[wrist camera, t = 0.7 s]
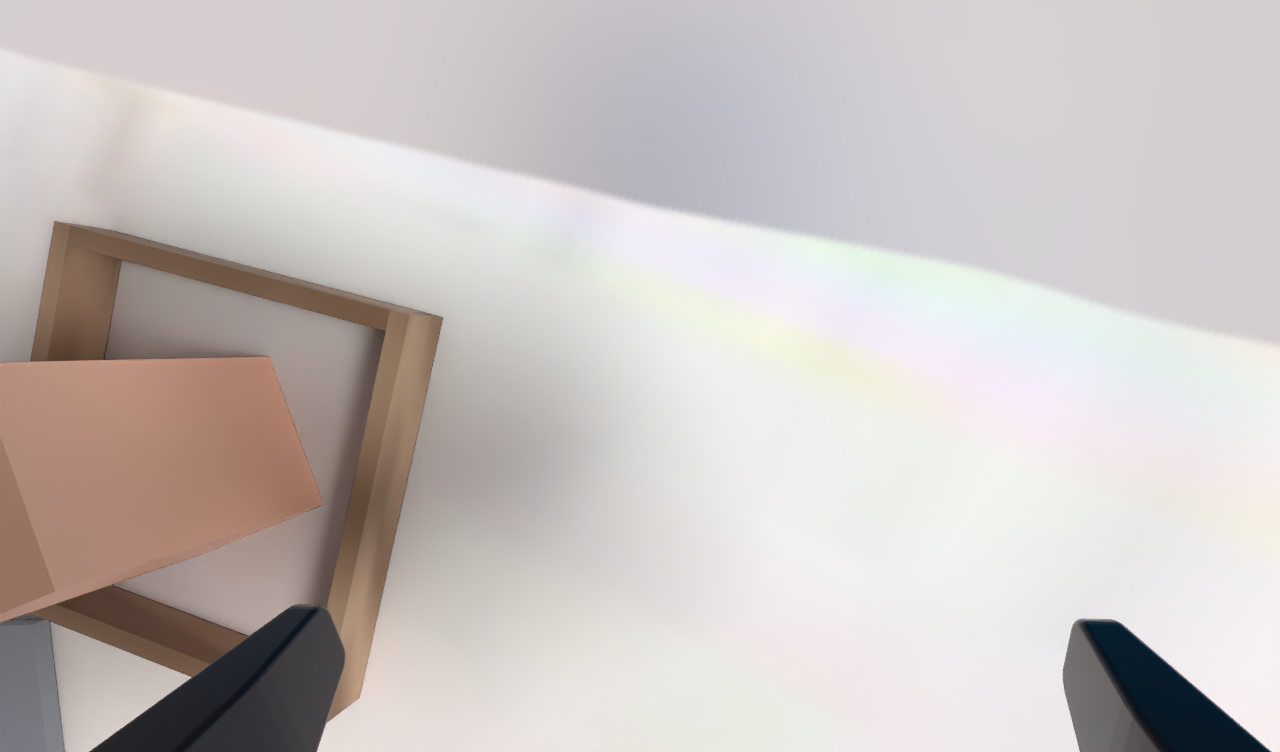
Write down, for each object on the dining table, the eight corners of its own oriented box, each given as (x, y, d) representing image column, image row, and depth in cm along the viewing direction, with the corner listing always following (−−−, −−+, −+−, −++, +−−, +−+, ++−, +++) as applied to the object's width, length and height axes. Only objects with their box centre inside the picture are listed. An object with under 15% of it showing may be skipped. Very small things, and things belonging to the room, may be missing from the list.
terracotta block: (323, 504, 25) (55, 591, 16) (198, 555, 26) (-117, 662, 17) (268, 356, 25) (-25, 362, 16) (147, 412, 26) (-190, 446, 17)
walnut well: (359, 697, 25) (320, 727, 23) (48, 579, 27) (-11, 597, 25) (442, 317, 24) (409, 314, 22) (111, 230, 26) (54, 221, 24)
